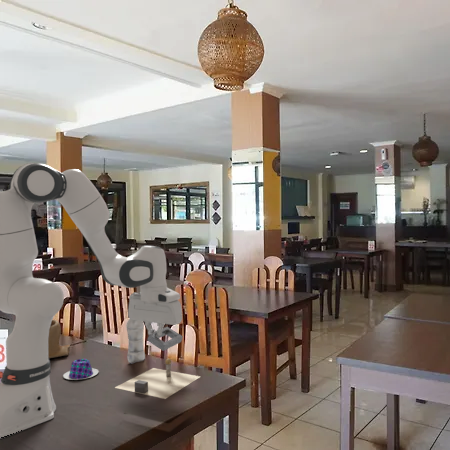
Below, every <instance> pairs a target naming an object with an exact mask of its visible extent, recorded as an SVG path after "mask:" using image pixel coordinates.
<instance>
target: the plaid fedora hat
mask: <svg viewBox="0 0 450 450" xmlns="http://www.w3.org/2000/svg"><path fill="white" fill-rule="evenodd" d="M69 369H70V370H68V371H67V372H65V373H63V375H62V377H63V379H66V380H72V381H73V380H74V381H78V380H81V379H82V380H86V379H89V378H92V377H94V376H97V375H98V373H99V372H100V371H99V369H96V368H95V367H94V368H93V367H92V364H91V361H90V360H89V359H87V358H79V359H75V360H73V361H72V362H71V365H70V368H69Z"/></svg>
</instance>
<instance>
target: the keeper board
mask: <svg viewBox="0 0 450 450" xmlns="http://www.w3.org/2000/svg"><path fill="white" fill-rule="evenodd" d="M164 361H165V362H164V363H165V369H160V368H156V367H152V368H151V369H149V370H148V369H147V370H146V371H144V372H142V373H140V374H139V375H137V376H134V377H133V378H131V379H129V380H126V381H125V382H123V383H121V384H119V385H117V386H115V387H114V388H115V389H119V390H121V391H122V390H123V391H128V392H133V393H135V394H136V393H137V394H142V395H145V396H150V397H154V398H159V399H162V400H163V399H164V400H166V399H168V398H170V397H171V396H172V395H174V394H176V393H177V392H179V391H181V390H183V389H184V388H185V387H187V386H188V385H190V384H191V383H193V382H195V381H196V380H198V379H200V378H201V376H199V375H194V374H188V373H183V372H179V371H177V372H176V371H172V365H171V364H172V359H171V358H167V359H165V360H164Z"/></svg>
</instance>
